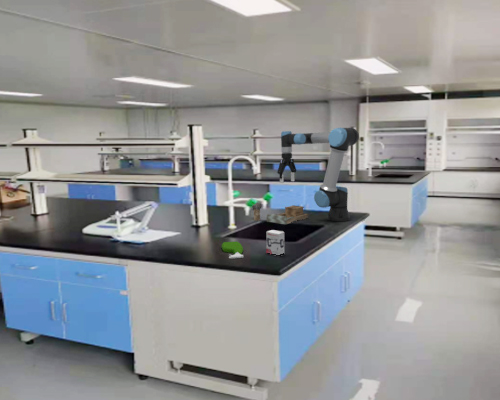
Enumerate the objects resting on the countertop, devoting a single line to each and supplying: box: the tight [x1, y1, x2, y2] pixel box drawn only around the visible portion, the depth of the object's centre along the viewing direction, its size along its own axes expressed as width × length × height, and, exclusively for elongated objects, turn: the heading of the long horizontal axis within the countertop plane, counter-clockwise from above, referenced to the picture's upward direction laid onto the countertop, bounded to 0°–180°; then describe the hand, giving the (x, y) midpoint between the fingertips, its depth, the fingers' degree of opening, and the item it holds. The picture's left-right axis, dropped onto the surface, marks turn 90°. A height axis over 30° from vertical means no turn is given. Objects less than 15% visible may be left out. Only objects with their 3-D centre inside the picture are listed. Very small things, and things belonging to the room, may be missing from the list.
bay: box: [266, 212, 309, 225], centre depth 316 cm, size 16×26×5 cm, turn 138°
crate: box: [284, 205, 304, 218], centre depth 321 cm, size 9×9×8 cm
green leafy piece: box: [221, 241, 244, 260], centre depth 237 cm, size 3×11×24 cm
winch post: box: [251, 202, 262, 222], centre depth 316 cm, size 6×4×14 cm
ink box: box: [265, 229, 285, 256], centre depth 231 cm, size 8×5×12 cm, turn 48°
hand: (287, 182), depth 330 cm, fingers open, 13 cm apart
